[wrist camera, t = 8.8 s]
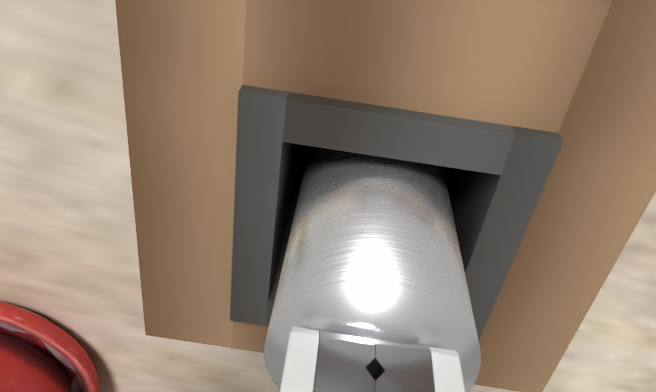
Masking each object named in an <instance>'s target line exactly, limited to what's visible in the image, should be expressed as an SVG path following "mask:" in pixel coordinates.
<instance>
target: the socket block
mask: <svg viewBox="0 0 656 392" xmlns="http://www.w3.org/2000/svg"><path fill="white" fill-rule="evenodd" d="M115 1H116V12H117V23H118V34H119V45H120V56H121V67H122V78H123V90H124V101H125V112H126V123H127V134H128V145H129V156H130V167H131V178H132V189H133V200H134V211H135V222H136V233H137V244H138V255H139V266H140V277H141V288H142V299H143V310H144V321H145V332H146V335H150V336H156V337H163V338H170V339H176V340H183V341H190V342H196V343H203V344H209V345H216V346H223V347H229V348H236V349H243V350H249V351H256V352H262V353H264V346H265V341H266V336H267V332H268V327H269V323H270V319H271V314H272V310H273V306H274V301H275V297H276V293H277V288H278V284H279V279H280V275H281V271H282V266H283V262H284V258H285V253H286V249H287V245H288V240H289V236H290V232H291V227H292V223H293V219H294V214H295V210H296V205H297V201H298V197H299V192H300V188H301V184H302V179H303V175H304V171H305V166H306V162H307V158H308V153H309V149H310V146H313V147H319V148H326V149H332V150H339V151H345V152H352V153H359V154H365V155H372V156H378V157H385V158H391V159H398V160H404V161H411V162H418V163H424V164H431V165H437V166H443V168H444V173H445V178H446V183H447V188H448V193H449V198H450V203H451V208H452V213H453V218H454V223H455V228H456V232H457V237H458V242H459V247H460V252H461V257H462V262H463V267H464V272H465V277H466V282H467V287H468V292H469V297H470V301H471V306H472V311H473V316H474V321H475V326H476V331H477V336H478V341H479V346H480V351H481V365H480V371H479V374H478V377H477V379H476V381H475V383H474V384H475V385H481V386H488V387H494V388H501V389H508V390H514V391H521V392H542V391H543V390H544V388H545V386H546V384H547V383H548V381H549V379H550V377H551V376H552V374H553V372H554V370H555V369H556V367H557V365H558V363H559V361H560V360H561V358H562V356H563V354H564V353H565V351H566V349H567V347H568V346H569V344H570V342H571V340H572V338H573V337H574V335H575V333H576V331H577V330H578V328H579V326H580V324H581V323H582V321H583V319H584V317H585V315H586V314H587V312H588V310H589V308H590V307H591V305H592V303H593V301H594V300H595V298H596V296H597V294H598V292H599V291H600V289H601V287H602V285H603V284H604V282H605V280H606V278H607V277H608V275H609V273H610V271H611V269H612V268H613V266H614V264H615V262H616V261H617V259H618V257H619V255H620V254H621V252H622V250H623V248H624V246H625V245H626V243H627V241H628V239H629V238H630V236H631V234H632V232H633V231H634V229H635V227H636V225H637V223H638V222H639V220H640V218H641V216H642V215H643V213H644V211H645V209H646V208H647V206H648V204H649V202H650V200H651V199H652V197H653V195H654V193H655V192H656V0H115Z"/></svg>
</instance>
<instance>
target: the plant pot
mask: <svg viewBox="0 0 656 392" xmlns="http://www.w3.org/2000/svg"><path fill="white" fill-rule="evenodd" d="M0 392H100V386H99V380H98V376H97V373H96V370H95V368H94V365H93V363H92V361H91V360H90V358H89V356H88V355H87V353H86V352H85V350H84V349H83V348H82V347H81V346H80V344H79V343H78V342H77V341H76V340H75V339H74V338H72V337H71V336H70V335H69V334H68V333H67V332H65V331H64V330H62V329H61V328H60V327H58V326H57V325H55V324H54V323H52V322H50V321H49V320H48V319H47V318H46V317H45V316H42V315H40V314H35V313H33V312H31V311H28V310H26V309H23V308H20V307H17V306H14V305H11V304H7V303H4V302H0Z"/></svg>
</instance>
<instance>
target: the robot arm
mask: <svg viewBox="0 0 656 392" xmlns="http://www.w3.org/2000/svg"><path fill="white" fill-rule="evenodd" d="M280 392H465V387H464V381H463V375H462V369H461V363H460V357H459V354H458V353H457V351H456V350H449V349H442V348H435V347H427V346H424V345H416V344H409V343H401V342H394V341H387V340H379V339H367V338H362V337H356V336H350V335H344V334H339V333H333V332H327V331H321V330H320V333H319V330H313V329H307V328H301V327H295V326H292V329H291V332H290V337H289V342H288V348H287V354H286V359H285V365H284V371H283V377H282V382H281V388H280Z"/></svg>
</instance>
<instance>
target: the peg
mask: <svg viewBox="0 0 656 392" xmlns="http://www.w3.org/2000/svg"><path fill="white" fill-rule="evenodd" d="M292 326H295V327H301V328H307V329H313V330H319V333H320V330H321V331H327V332H333V333H339V334H344V335H350V336H356V337H362V338H367V339H379V340H387V341H394V342H401V343H409V344H416V345H424V346H427V347H435V348H442V349H449V350H456V351H457V353H458V354H459V357H460V363H461V369H462V375H463V381H464V387H465V392H469V391H470V389H471V388H472V387H473V385H474V383H475V381H476V379H477V377H478V374H479V371H480V365H481V351H480V346H479V341H478V336H477V331H476V326H475V321H474V316H473V311H472V306H471V301H470V297H469V292H468V287H467V282H466V277H465V272H464V267H463V262H462V257H461V252H460V247H459V242H458V237H457V232H456V228H455V223H454V218H453V213H452V208H451V203H450V198H449V193H448V188H447V183H446V178H445V173H444V168H443V166H437V165H431V164H424V163H418V162H411V161H404V160H398V159H391V158H385V157H378V156H372V155H365V154H359V153H352V152H345V151H339V150H332V149H326V148H319V147H313V146H310V149H309V153H308V158H307V162H306V166H305V171H304V175H303V179H302V184H301V188H300V192H299V197H298V201H297V205H296V210H295V214H294V219H293V223H292V227H291V232H290V236H289V240H288V245H287V249H286V253H285V258H284V262H283V266H282V271H281V275H280V279H279V284H278V288H277V293H276V297H275V301H274V306H273V310H272V314H271V319H270V323H269V327H268V332H267V336H266V341H265V346H264V357H265V362H266V366H267V369H268V371H269V374H270V376H271V377H272V379H273V381H274V383H275V384H276V385H277V386H278V388H279V389H280V388H281V382H282V377H283V371H284V365H285V359H286V354H287V348H288V342H289V337H290V332H291V329H292Z"/></svg>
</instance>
